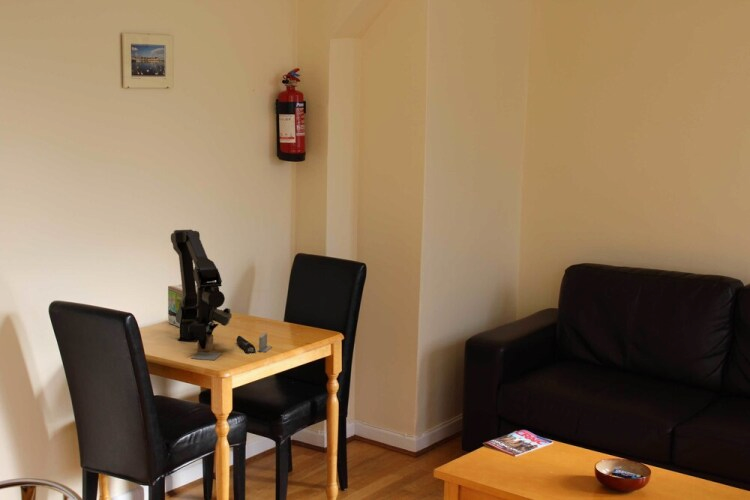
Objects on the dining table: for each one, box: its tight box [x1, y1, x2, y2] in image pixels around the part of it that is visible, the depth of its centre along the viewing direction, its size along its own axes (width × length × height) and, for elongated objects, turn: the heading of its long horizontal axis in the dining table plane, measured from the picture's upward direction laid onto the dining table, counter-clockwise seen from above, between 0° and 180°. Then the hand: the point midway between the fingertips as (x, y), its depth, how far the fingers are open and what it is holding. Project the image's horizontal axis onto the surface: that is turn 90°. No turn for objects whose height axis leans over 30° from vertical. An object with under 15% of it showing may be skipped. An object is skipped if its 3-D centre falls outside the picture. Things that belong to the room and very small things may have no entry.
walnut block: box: [197, 334, 214, 353], centre depth 315 cm, size 4×4×5 cm
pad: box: [190, 351, 223, 361], centre depth 307 cm, size 8×8×1 cm
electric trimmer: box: [235, 335, 256, 354], centre depth 320 cm, size 4×16×3 cm, turn 23°
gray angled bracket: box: [257, 332, 272, 353], centre depth 319 cm, size 3×7×5 cm, turn 172°
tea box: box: [167, 284, 197, 328], centre depth 349 cm, size 15×10×15 cm
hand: (205, 347), depth 315 cm, fingers closed on walnut block, 4 cm apart
